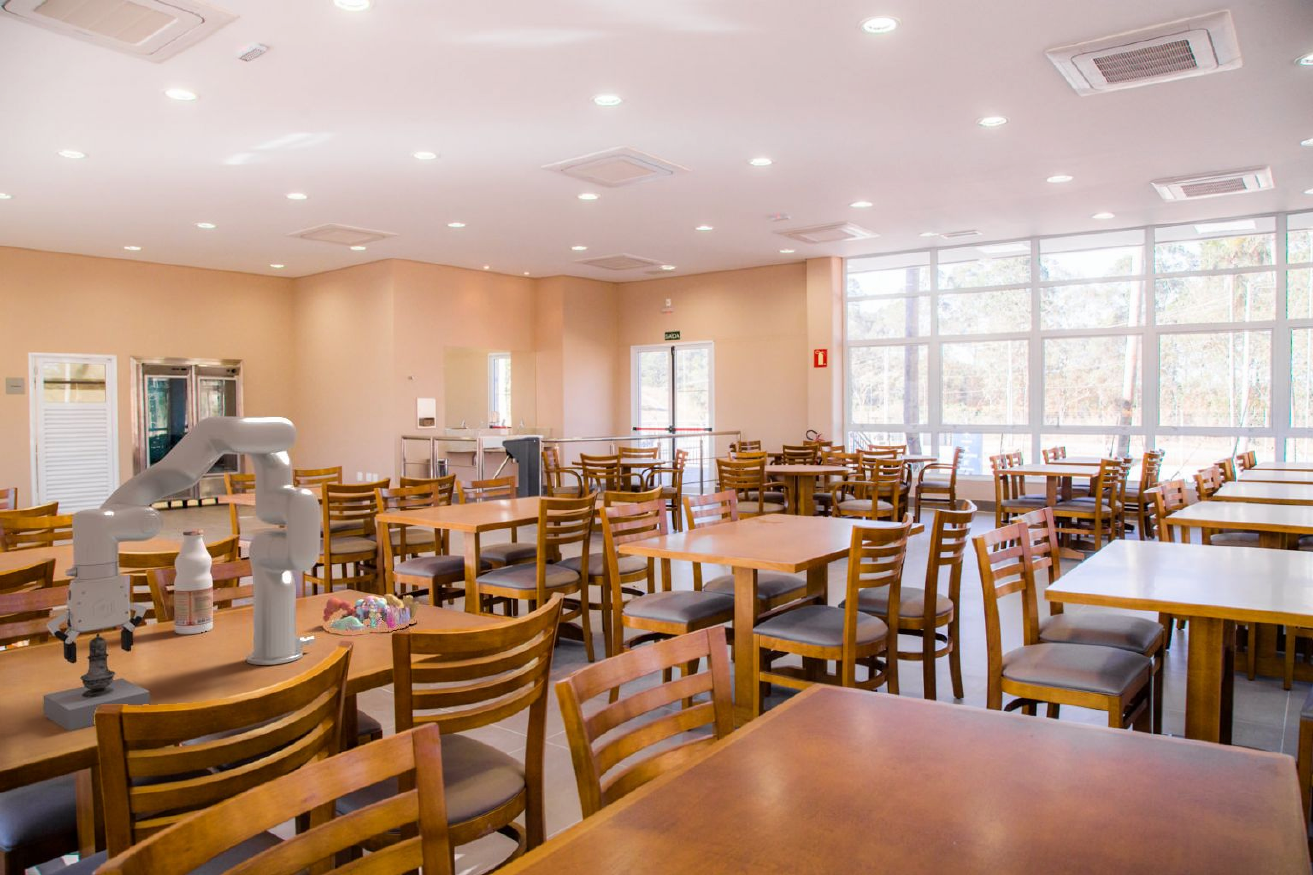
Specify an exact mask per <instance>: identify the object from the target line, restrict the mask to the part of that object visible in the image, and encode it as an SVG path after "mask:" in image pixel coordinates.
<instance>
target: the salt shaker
mask: <svg viewBox="0 0 1313 875" xmlns="http://www.w3.org/2000/svg"><path fill="white" fill-rule="evenodd" d="M88 649H89V653H88V656H87V657H86V659H88V669H87V670H88V671H87V672H86V673H85V674H83V675H81V676H80V680H81V682H82V684H83V687H84V686H85V687H86V688H88V689H90V690H87V691H86V692H84V693H83V694H82V696H84V697H98V696H104V695H107V694H110V693H112V692H114V689H112V688H110V687H107V686H109V685H110V684H111V683H112V681H113V680H114V678H115V675H116V674H117V673H116V671H114V670H110V669H109V668H108V667H109V666H108V657H109V654H108V653H107V640H106V639H105V638H104V637H101V636H100V634H99V633H98V632H97V634H96V635H95V637H94V638H92V639H91V640H90V641H89V648H88Z"/></svg>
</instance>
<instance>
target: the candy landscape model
mask: <svg viewBox="0 0 1313 875" xmlns="http://www.w3.org/2000/svg"><path fill="white" fill-rule="evenodd" d="M413 599H414V597H413V596H412V595H411V594H408V595H403V597H402V600H400V599H398V597H397V596H395V595H394V594H391V593H386V594H384V595H383V597H377V596H375V595H368V596H366V597H365V599H362V598H361V599H358V600H356V602H355V606H354V607H352V606H351V604H350V601H347V600H343V601H342V600H340V598H338V597H331V598H329V599H328V600H327V602H326V604H325V606H326V607H325V608H324V609H323V614H324V615H323V616H322V620H323V621H324V623H325V622H327V621H328V622H329V621H330V620H331V617H332V616H333V615H334V613H337V612H338V611H340V610H342V611H346V612H345V613H342V615H341V617H340V618H336V619H337V620H336V619H333V620H331V621H332V622H333V621H334V620H335V621H334V622H333V623H331V625H330V626H331V627H329V628H334V629H338V630H346V631H349V630H348V629H350V630H352V631H354V630H362V629H365V628H366V627H365V625H364V624H363V621H364V620H365V619H368V618H369V619H370V621H371V622H370V628H376V627H375V626H376V625H377V627H378V626H380V625H383V624H382V623H381V621H379V620H380V618H382V620H383V621H384V622H386V624H387V626H388V627H387V628H389V627H390V628H394V627H395V625H396V626H397V625H401V624H402V623H405V624H406V623H409V620H410V619H412V618H415V616H416V615H417V612H418V610H419V605H420V603H419V601H414V602H413ZM381 616H382V617H381ZM377 619H378V620H377ZM404 619H405V621H404ZM406 620H407V621H406ZM375 622H377V623H376V624H375ZM368 626H369V625H367V627H368ZM378 629H379V628H378Z"/></svg>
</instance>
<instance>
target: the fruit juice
mask: <svg viewBox="0 0 1313 875" xmlns="http://www.w3.org/2000/svg"><path fill="white" fill-rule="evenodd" d="M182 535H183V538H184V539H183V541H182V545H181V547H180V550H179V553H178V554H177V556H176V558H175V559H174V568H175V571H176V575H175V577H174V582H173V583H174V584H173V589H174V590H173V594H174V595H173V598H174V599H173V602H174V603H173V607H174V609H173V610H174V612H173V613H174V620H173V621H174V633H175V634H177V633H178V635H194V634H195V635H196V634H201V632H203V633H206V632H205V631H207V632H210V631H211V630H213V626H214V614H213V612H214V607H213V606H214V604H213V603H214V599H213V597H214V596H213V595H214V594H213V592H214V590H213V589H214V587H213V586H214V584H213V576H212V574H211V568H212V564H213V560H212V556H211V555H210V552H209V551H208V548H206V544H205V542H204V539H203V536H204V530H203V529H186V530H183V533H182Z"/></svg>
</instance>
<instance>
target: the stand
mask: <svg viewBox="0 0 1313 875" xmlns="http://www.w3.org/2000/svg"><path fill="white" fill-rule="evenodd" d="M107 687H110V688H112V689H114V692H112V693H110V694H107V695H104V696H98V697H84V696H82V694H83V693H84V692H86V691H87V690H90V689H88V688H86V687H85V686H84V685H83V686H81V687H76V688H75V687H74V688H71V689H67V690H61V691H58V692H57V691H56V692H51V693H48V694H43V716H44V717H45V718H47V719H48V720H51V721H53V722H54V723H55V724H57V725H58V726H61V728H64V729H65V730H67V731H68V732H72V731H75V730H80V729H83V728H88V727H92V726H95V725H94V713H95V710H96V708H97V707H98V706H99V705H101V704H128V705H143V704H150V705H151V691H149V690H148V689H145V688H144V687H141V686H139V685H137V684H134V683H133V682H130V681H128V680H126V679H124V678H117V679H113V681H112V683H111V684H110V685H109V686H107Z"/></svg>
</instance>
